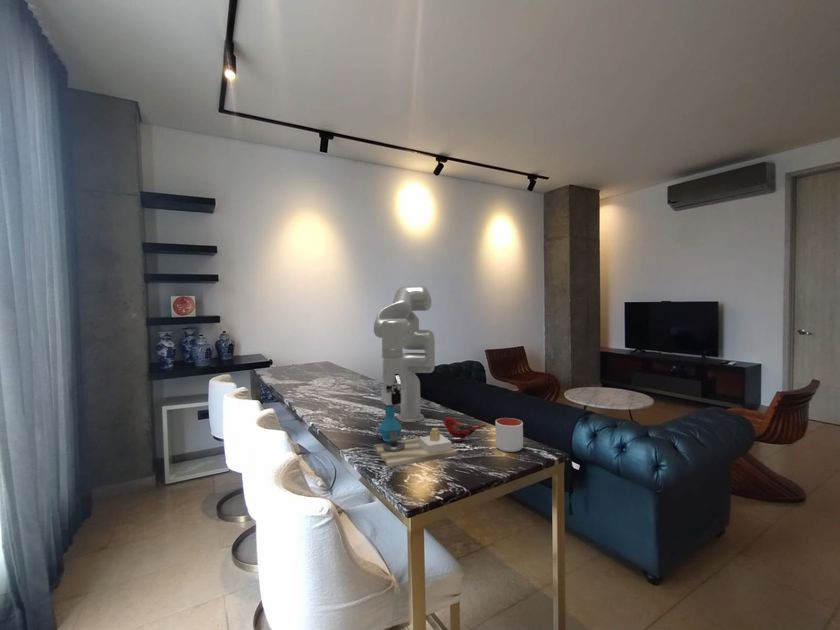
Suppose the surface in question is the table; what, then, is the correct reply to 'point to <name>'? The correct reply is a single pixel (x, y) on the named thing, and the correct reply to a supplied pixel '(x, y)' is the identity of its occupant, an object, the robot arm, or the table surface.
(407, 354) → the robot arm
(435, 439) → the block
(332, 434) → the table surface
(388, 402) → the steel collar
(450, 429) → the decorative bird figurine
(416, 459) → the board
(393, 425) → the perfume bottle
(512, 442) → the cup
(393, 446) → the rod stand
